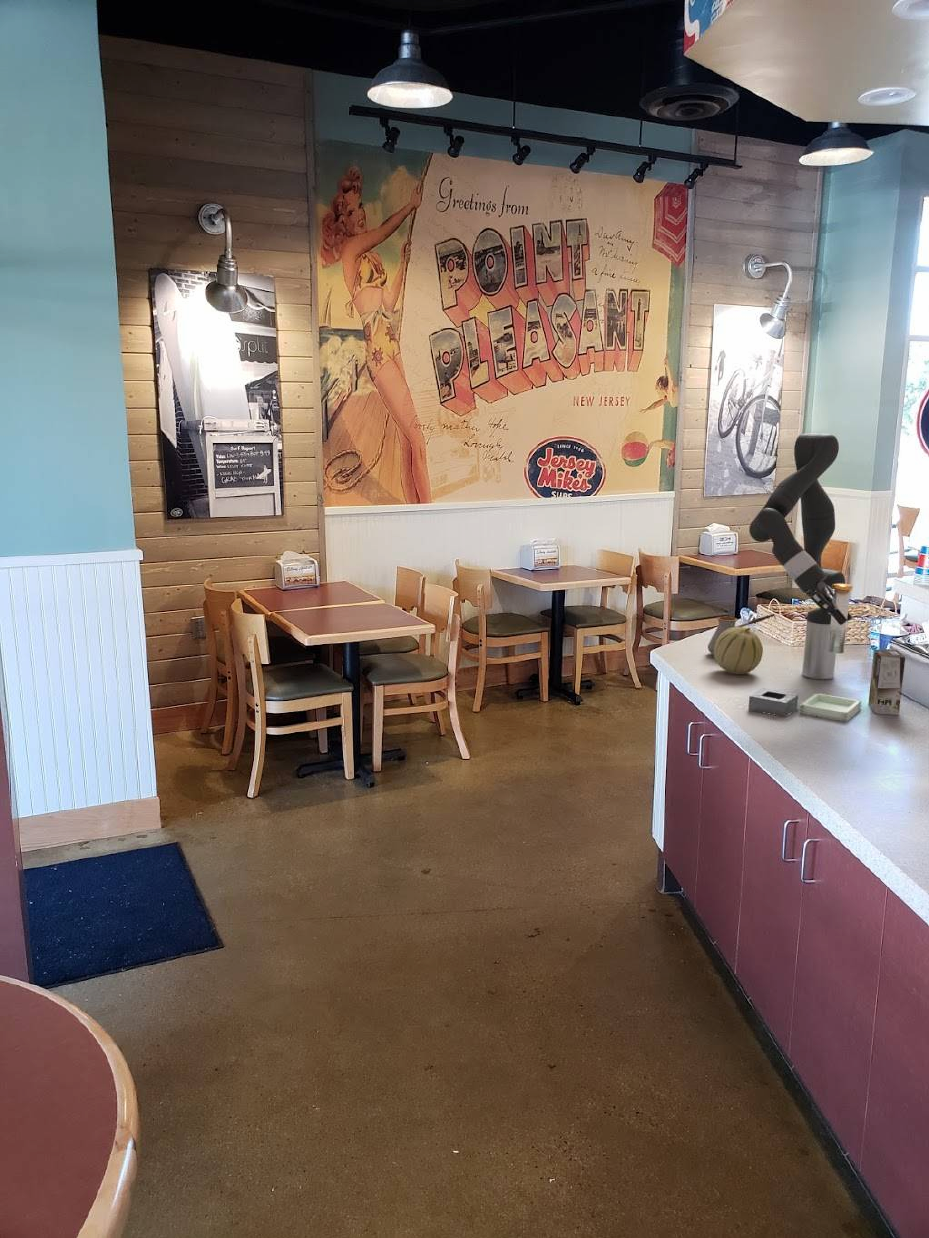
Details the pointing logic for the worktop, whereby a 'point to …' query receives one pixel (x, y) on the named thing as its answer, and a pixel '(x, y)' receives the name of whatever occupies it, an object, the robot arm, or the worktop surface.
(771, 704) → the socket block
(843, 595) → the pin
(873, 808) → the worktop surface
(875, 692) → the coffee box
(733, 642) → the cantaloupe
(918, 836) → the worktop surface
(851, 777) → the worktop surface
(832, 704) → the tray
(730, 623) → the coffee pot
